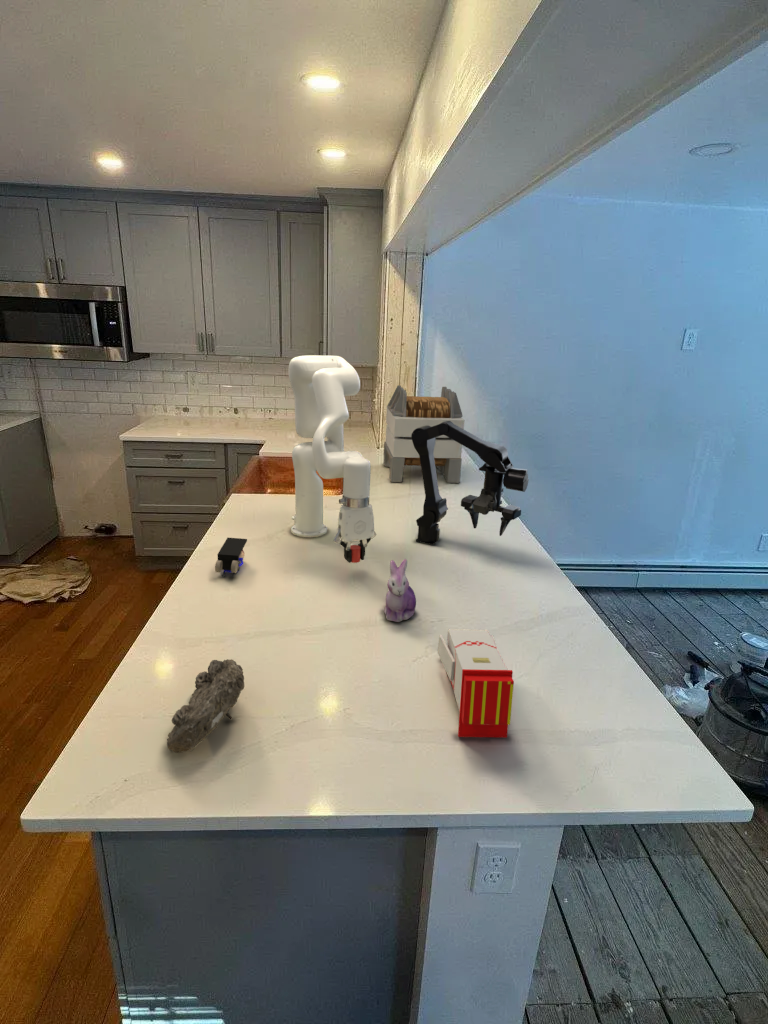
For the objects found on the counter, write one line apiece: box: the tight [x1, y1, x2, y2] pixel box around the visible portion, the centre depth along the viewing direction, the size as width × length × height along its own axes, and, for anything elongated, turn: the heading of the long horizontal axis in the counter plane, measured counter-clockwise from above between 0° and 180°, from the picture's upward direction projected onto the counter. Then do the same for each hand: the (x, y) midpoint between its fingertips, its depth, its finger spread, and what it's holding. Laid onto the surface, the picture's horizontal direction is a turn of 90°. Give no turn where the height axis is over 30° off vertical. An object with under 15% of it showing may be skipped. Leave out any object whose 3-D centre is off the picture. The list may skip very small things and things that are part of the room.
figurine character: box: [214, 537, 248, 578], centre depth 166 cm, size 7×8×15 cm
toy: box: [437, 628, 515, 738], centre depth 117 cm, size 12×13×30 cm
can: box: [350, 544, 361, 564], centre depth 167 cm, size 4×4×4 cm
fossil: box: [166, 658, 245, 754], centre depth 106 cm, size 22×10×15 cm
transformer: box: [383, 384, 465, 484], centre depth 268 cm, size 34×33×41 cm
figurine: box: [384, 558, 417, 623], centre depth 145 cm, size 9×10×15 cm
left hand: (354, 558), depth 168 cm, fingers closed on can, 3 cm apart
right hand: (487, 531), depth 183 cm, fingers open, 9 cm apart
